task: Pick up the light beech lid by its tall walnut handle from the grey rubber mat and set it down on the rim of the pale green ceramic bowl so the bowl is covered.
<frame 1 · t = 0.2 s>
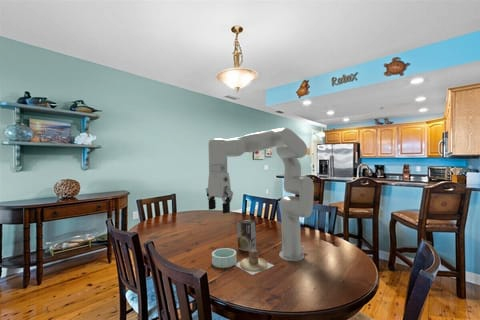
hand: (219, 211, 97), 31 cm above the table, fingers open, 9 cm apart
mat: (253, 265, 115), on the table
lid: (253, 264, 115), resting on mat
coffee box: (247, 249, 136), on the table
bowl: (224, 262, 119), on the table
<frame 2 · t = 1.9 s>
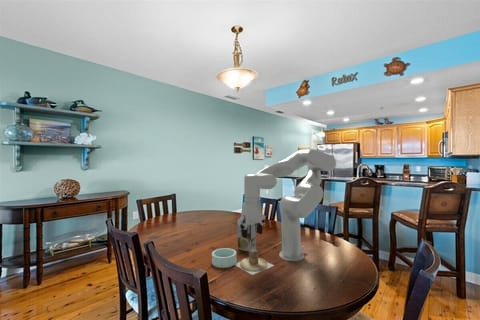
hand: (252, 235, 115), 15 cm above the table, fingers open, 9 cm apart
nothing on the table moved.
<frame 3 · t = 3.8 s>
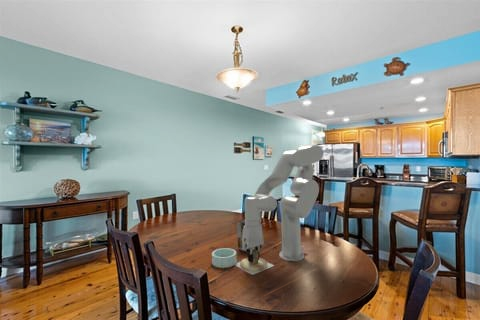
hand: (253, 260, 115), 3 cm above the table, fingers closed on lid, 3 cm apart
lid: (253, 264, 115), resting on mat, touching gripper
everything else where it was.
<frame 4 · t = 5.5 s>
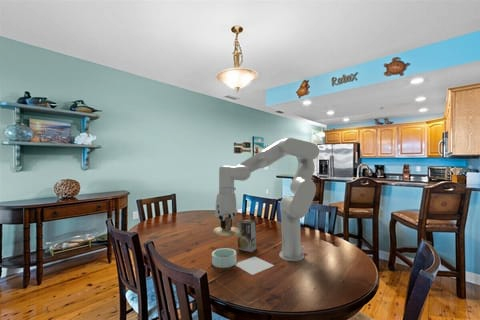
hand: (226, 227, 118), 18 cm above the table, fingers closed on lid, 3 cm apart
lid: (226, 231, 118), point 16 cm above the table, touching gripper
everything else where it was.
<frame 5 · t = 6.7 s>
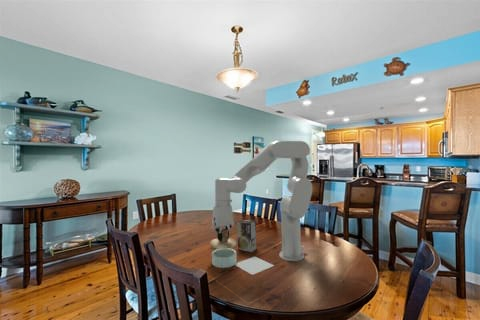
hand: (223, 239, 119), 12 cm above the table, fingers closed on lid, 3 cm apart
lid: (223, 243, 119), point 10 cm above the table, touching gripper
everything else where it was.
when the fingers open (9 cm above the table, at t = 7.5 s): lid drops 1 cm, resting on bowl.
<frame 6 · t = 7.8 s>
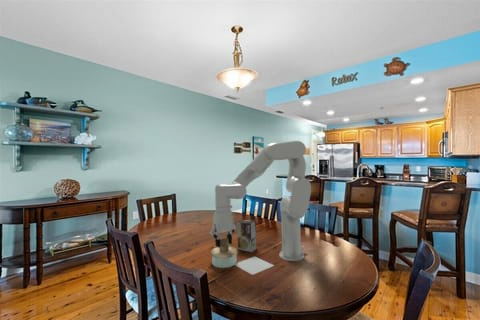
hand: (223, 244, 119), 9 cm above the table, fingers open, 6 cm apart
lid: (224, 252, 119), point 5 cm above the table, touching bowl
everything else where it was.
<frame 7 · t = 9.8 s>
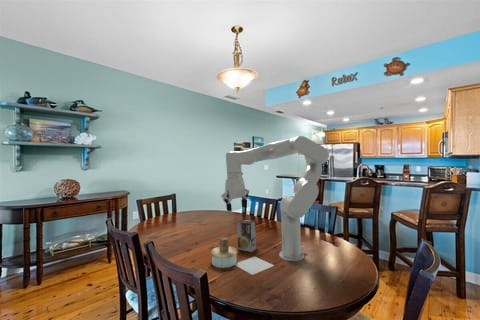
hand: (236, 209, 122), 26 cm above the table, fingers open, 9 cm apart
nothing on the table moved.
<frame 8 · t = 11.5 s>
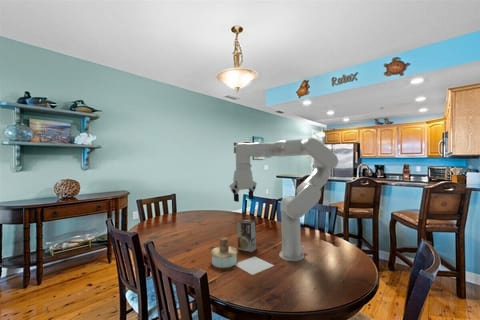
hand: (243, 200, 123), 30 cm above the table, fingers open, 9 cm apart
nothing on the table moved.
at the end: lid 0.1 cm off-centre on the bowl, point 5.0 cm above the bowl's base; lid tilted 0°; the gripper is holding nothing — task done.
